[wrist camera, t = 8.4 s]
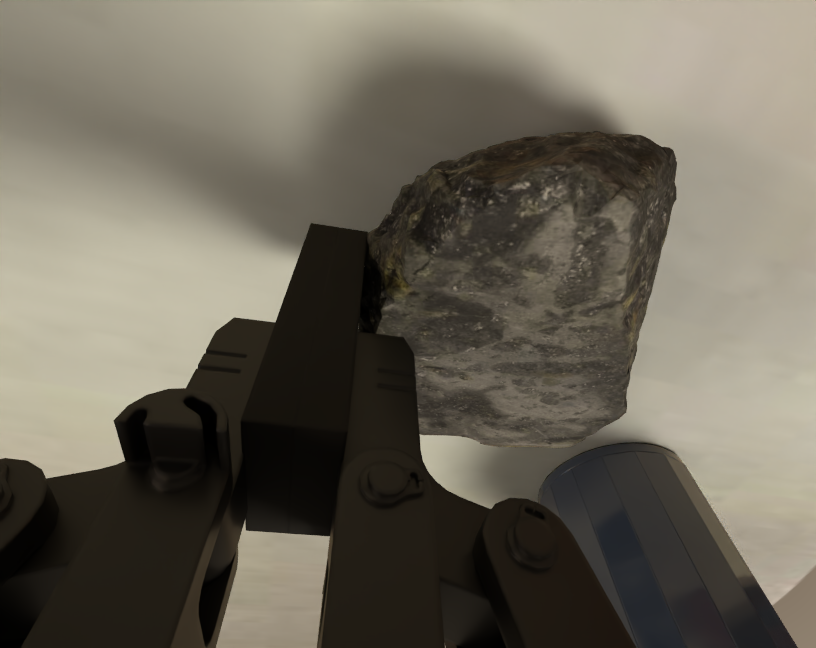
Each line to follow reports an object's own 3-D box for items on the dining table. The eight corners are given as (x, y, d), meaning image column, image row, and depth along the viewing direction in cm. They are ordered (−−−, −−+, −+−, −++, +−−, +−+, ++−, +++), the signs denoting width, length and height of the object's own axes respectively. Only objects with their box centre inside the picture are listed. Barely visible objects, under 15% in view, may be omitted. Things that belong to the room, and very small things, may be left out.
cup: (569, 435, 20) (667, 684, 13) (715, 450, 21) (884, 690, 14) (519, 523, 24) (572, 749, 17) (642, 532, 25) (743, 750, 18)
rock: (351, 385, 18) (342, 529, 13) (374, 73, 11) (372, 139, 7) (568, 396, 19) (630, 533, 14) (703, 116, 12) (900, 200, 8)
